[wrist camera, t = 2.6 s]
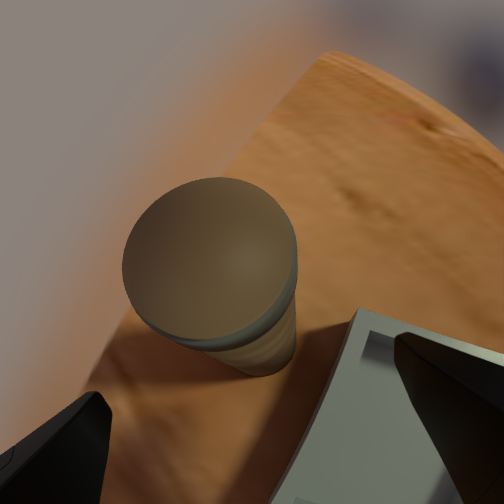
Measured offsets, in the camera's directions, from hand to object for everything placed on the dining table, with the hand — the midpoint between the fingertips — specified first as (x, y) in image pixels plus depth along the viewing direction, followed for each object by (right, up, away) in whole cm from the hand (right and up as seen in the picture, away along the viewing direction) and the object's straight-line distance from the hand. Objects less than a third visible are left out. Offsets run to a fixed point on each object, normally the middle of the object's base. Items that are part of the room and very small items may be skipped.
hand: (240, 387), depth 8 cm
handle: (+1, -2, +11) cm, 11 cm away
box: (+10, -8, +6) cm, 14 cm away
